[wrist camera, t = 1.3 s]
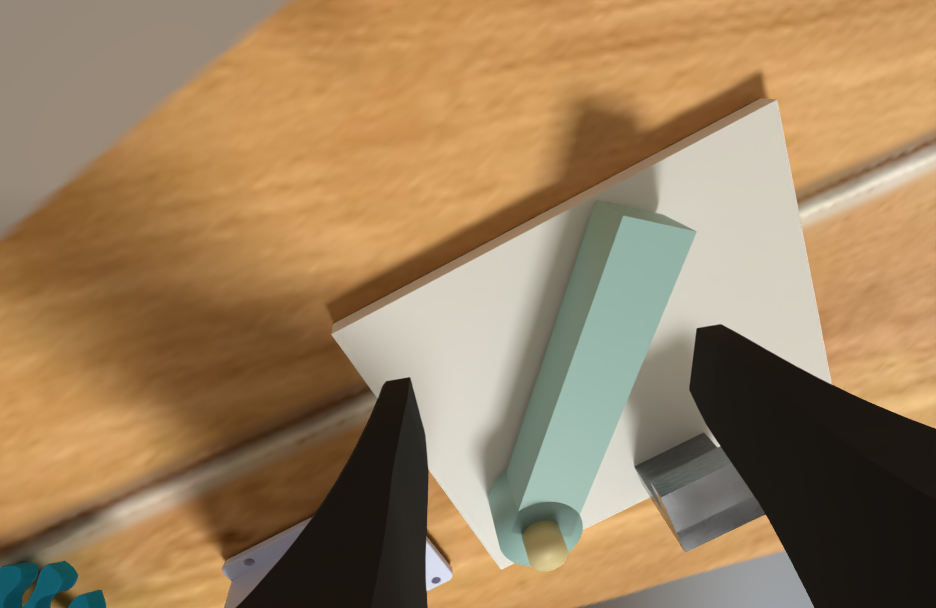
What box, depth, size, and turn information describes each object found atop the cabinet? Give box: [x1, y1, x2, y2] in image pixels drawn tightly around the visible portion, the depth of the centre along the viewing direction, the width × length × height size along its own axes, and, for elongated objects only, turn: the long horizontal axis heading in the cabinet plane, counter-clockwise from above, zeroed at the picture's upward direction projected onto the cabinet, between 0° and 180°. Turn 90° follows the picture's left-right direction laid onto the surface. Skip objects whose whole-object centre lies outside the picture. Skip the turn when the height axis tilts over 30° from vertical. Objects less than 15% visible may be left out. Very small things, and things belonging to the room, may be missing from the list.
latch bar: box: [489, 200, 697, 571], centre depth 22 cm, size 17×4×4 cm, turn 166°
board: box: [331, 98, 832, 569], centre depth 25 cm, size 20×17×1 cm
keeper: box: [634, 432, 765, 552], centre depth 25 cm, size 4×4×5 cm
